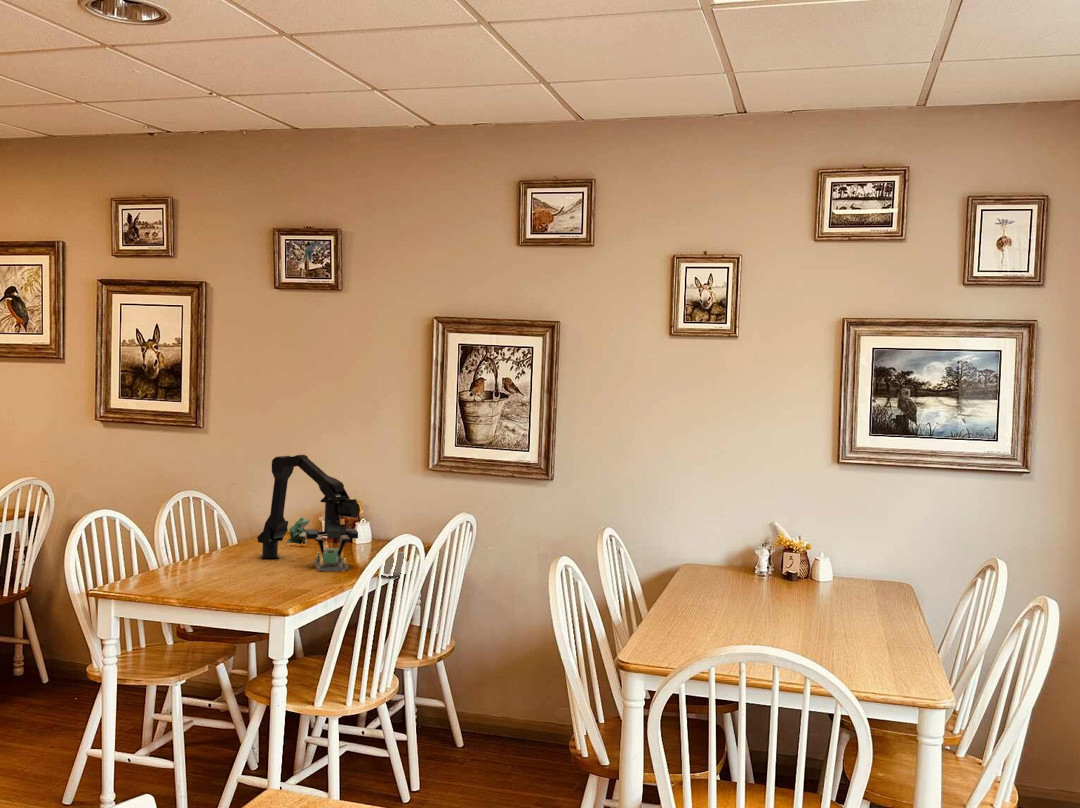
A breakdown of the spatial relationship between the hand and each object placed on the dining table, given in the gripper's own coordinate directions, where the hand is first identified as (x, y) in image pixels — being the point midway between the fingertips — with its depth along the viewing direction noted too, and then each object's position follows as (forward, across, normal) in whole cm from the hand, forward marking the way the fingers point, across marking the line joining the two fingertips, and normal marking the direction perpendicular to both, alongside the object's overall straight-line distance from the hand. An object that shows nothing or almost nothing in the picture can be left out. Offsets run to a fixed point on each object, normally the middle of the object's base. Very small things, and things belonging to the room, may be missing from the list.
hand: (331, 556), depth 359 cm
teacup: (+4, +19, -16) cm, 25 cm away
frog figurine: (+4, -8, +47) cm, 48 cm away
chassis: (+4, 0, 0) cm, 4 cm away
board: (+1, 0, 0) cm, 1 cm away
